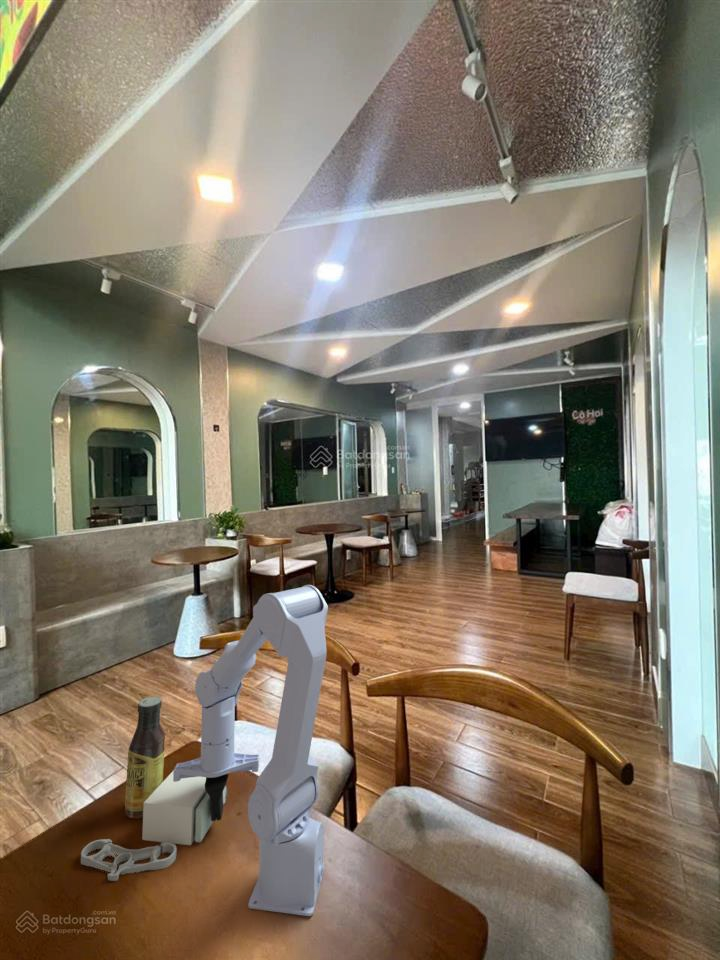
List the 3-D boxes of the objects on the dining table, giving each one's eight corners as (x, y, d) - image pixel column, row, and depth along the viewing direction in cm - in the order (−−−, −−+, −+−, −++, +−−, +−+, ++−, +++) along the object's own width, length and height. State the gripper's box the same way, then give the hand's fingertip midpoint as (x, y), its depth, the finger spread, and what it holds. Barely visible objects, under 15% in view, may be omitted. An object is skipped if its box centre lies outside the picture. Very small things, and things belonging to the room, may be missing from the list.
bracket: (115, 821, 69) (181, 843, 64) (115, 833, 69) (181, 856, 64) (71, 856, 62) (142, 884, 57) (71, 869, 62) (141, 899, 57)
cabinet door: (227, 797, 76) (228, 769, 76) (201, 842, 66) (202, 809, 66) (222, 797, 76) (222, 769, 77) (194, 841, 66) (195, 809, 66)
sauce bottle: (117, 812, 73) (122, 702, 75) (150, 792, 78) (154, 690, 80) (136, 827, 69) (141, 711, 71) (169, 805, 75) (173, 698, 76)
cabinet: (219, 801, 75) (220, 769, 76) (190, 845, 66) (191, 807, 66) (176, 797, 77) (177, 765, 77) (142, 839, 67) (143, 802, 67)
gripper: (260, 720, 76) (260, 795, 74) (182, 728, 73) (180, 805, 72) (257, 741, 69) (256, 823, 67) (170, 750, 66) (168, 836, 65)
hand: (216, 816), depth 69 cm, fingers closed, pressing on cabinet door
